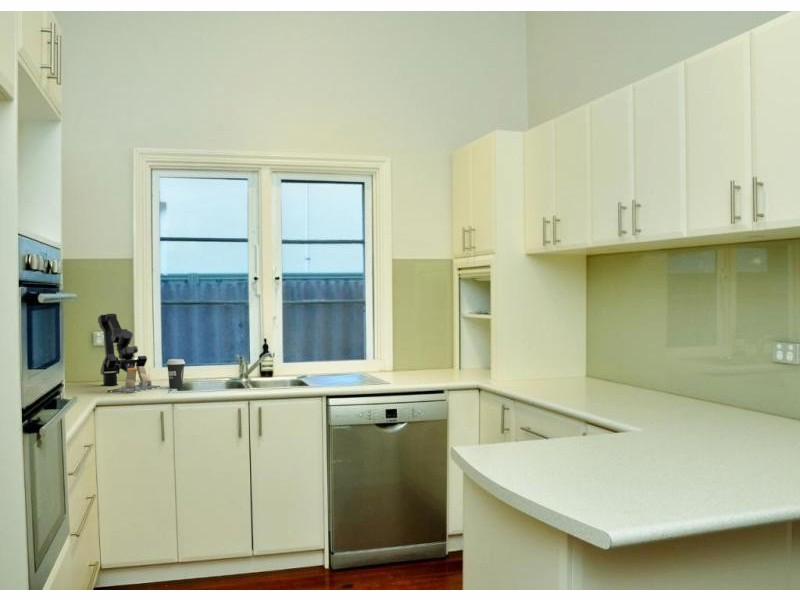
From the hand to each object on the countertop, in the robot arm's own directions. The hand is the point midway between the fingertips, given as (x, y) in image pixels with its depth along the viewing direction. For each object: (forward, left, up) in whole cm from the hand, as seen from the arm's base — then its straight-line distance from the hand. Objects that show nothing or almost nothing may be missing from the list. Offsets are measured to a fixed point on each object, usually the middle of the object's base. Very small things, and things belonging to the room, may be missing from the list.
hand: (130, 374), depth 338 cm
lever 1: (-2, +1, -7) cm, 8 cm away
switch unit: (-6, +9, -9) cm, 14 cm away
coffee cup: (+10, +22, -9) cm, 26 cm away
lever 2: (-6, +17, -7) cm, 20 cm away
